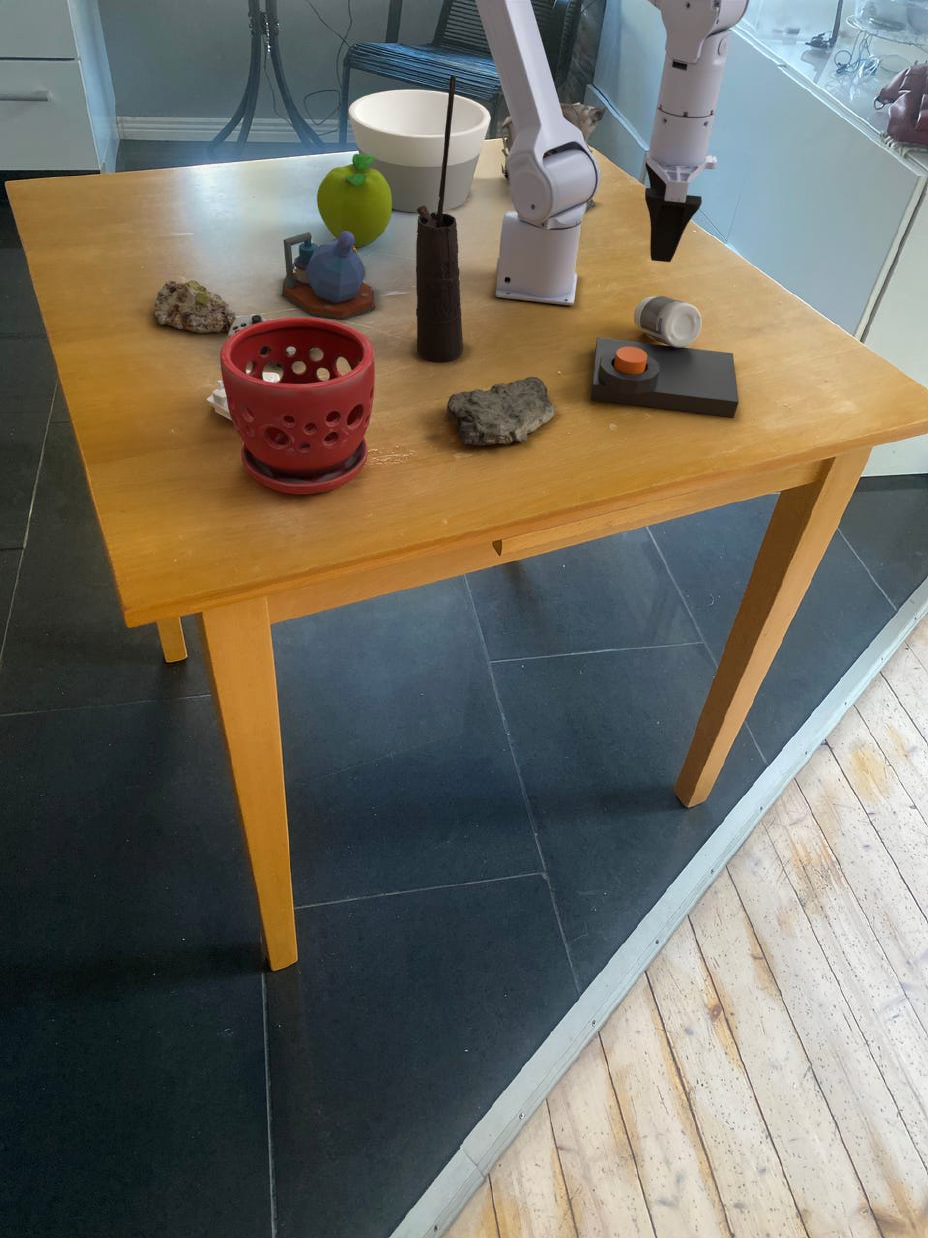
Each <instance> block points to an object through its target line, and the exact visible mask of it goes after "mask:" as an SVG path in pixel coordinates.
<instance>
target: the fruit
mask: <svg viewBox="0 0 928 1238" xmlns="http://www.w3.org/2000/svg"><path fill="white" fill-rule="evenodd" d="M374 158H375V156H373V155H364V154H359V153H354V154H353V155H352V159H351V163H350V164H347V165H344V166H336V167H333V168H331V170H329V171H328V172H327V174H326V175H325V177H324V178H323V179H322V180H321V182H320V184H319V186H318V189H317V193H316V205H317V209H318V213H319V215H320V218H321V220H322V221H323V222H322V223H324V225H325V227H326V229H327V230H328V231H329V233H330V235H332V236H333V237H334V238H335V240H336V241H338V237H339V235H340V234H341V233H342V232H344V231H348V232H350V233H352V234H353V236H354V239H355V244H354V245H353V246H354V247H355V248H361V247H365V246H367V245H368V244H371V243H373V242H374V241H376V240H377V239H378V238H380V237H381V236H382V234H384V232H385V231H386V229H387V228H388V225H389V223H390V221H391V216H392V210H393V209H392V196H391V191H390V188H389V185H388V183H387V181H386V180H385V178H384V177H383V176H382V174H381V173H380V172H378V171H377V170H375V169H370V168H367V167H368V166H369V165H370V164H371V163H372V161H373V160H374Z"/></svg>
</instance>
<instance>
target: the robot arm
mask: <svg viewBox="0 0 928 1238" xmlns="http://www.w3.org/2000/svg"><path fill="white" fill-rule="evenodd" d="M474 1H475V4H476V7H477V11H478V15H479V17H480V21H481V24H482V28H483V31H484V34H485V38H486V40H487V44H488V47H489V50H490V53H491V54H490V55H491V57H492V61H493V65H494V67H495V70H496V74H497V77H498V80H499V83H500V87H501V90H502V93H503V97H504V100H505V103H506V106H507V109H508V113H509V117H510V116H511V120H512V123H513V126H514V129H515V133H516V139H515V142H514V144H513V146H512V148H511V150H510V152H508V153H507V154H508V156H507V159H506V164H507V167H508V170H509V175H510V182H509V197H510V201H511V204H512V206H513V208H514V209H513V210H511V209H510V210H509V209H508V210H505V211H504V214H503V217H502V224H501V232H500V239H499V240H500V241H499V250H498V251H499V253H498V258H497V261H496V269H495V270H496V271H495V272H496V274H497V276H496V287H495V288H496V289H495V296H496V297H497V298H502V299H512V300H519V301H521V300H522V301H529V302H536V303H544V304H555V305H562V306H573V305H574V304H575V298H576V291H577V283H578V273H576V266H577V261H578V260H577V259H578V252H579V246H580V245H579V244H580V239H581V231H582V225H583V217H584V214H585V213H586V211H587V210H586V203H587V202H589V201H590V200H591V199H594V197H595V196H596V195H597V193H598V191H599V188H600V184H601V170H600V166H599V163H598V161H597V159H596V157H595V156H594V154H593V152H592V153H591V152H590V151H589V149H590V148H589V149H588V148H587V146H586V144H585V141H584V138H583V134H582V132H581V130H579V129H578V128H577V127H576V126H574V125H573V124H572V123H570V122H569V121H567V120H566V119H565V118H564V117H563V114H562V110H561V107H560V103H561V102H560V101H559V96H558V93H557V90H556V86H555V82H554V79H553V76H552V72H551V68H550V65H549V62H548V58H547V54H546V51H545V48H544V44H543V41H542V36H541V33H540V29H539V27H538V23H537V19H536V16H535V12H534V8H533V6H532V2H531V0H474ZM647 2H649V3H650V4H651V5H652V6H654V7H655V8H656V9H658V11H659V12H660V16H661V21H662V24H663V26H664V28H665V32H666V39H665V41H666V42H665V46H664V51H665V56H664V62H663V68H662V73H661V79H660V86H659V91H658V97H657V103H656V110H655V115H654V122H653V127H652V134H651V139H650V145H649V149H648V150H647V152H646V157H645V169H646V172H647V175H648V181H649V187H645V191H644V200H645V204H646V206H647V207H646V208H647V210H648V214H649V221H650V239H649V240H650V241H649V242H650V243H649V244H650V245H649V247H650V249H649V250H650V251H649V252H650V253H649V254H650V260H651V261H653V262H663V263H671V262H672V260H673V258H674V256H675V253H676V251H677V249H678V246H679V244H680V241H681V239H682V236H683V234H684V233H685V230H686V228H687V226H688V224H689V222H690V221H691V220H692V218H693V217H694V215H695V214H696V213H697V212H698V211H699V210H700V207H701V205H702V203H703V200H702V199H703V198H702V196H701V195H691V194H688V189H689V186H690V184H691V183H692V182H693V181H694V180H695V179H696V178H698V176H699V175H700V174H701V173H703V172H704V171H705V170H714V169H716V168H717V165H718V164H717V163H718V158H717V156H715V155H709V154H707V153H708V149H709V144H710V140H711V139H710V138H711V134H712V129H713V124H714V121H715V115H716V110H717V105H718V101H719V95H720V91H721V86H722V81H723V77H724V73H725V66H726V62H727V57H728V53H729V47H730V42H731V37H732V32H733V27H735V26H736V25H737V24H739V23H740V22H741V21H742V19H743V17H744V16H745V15H746V12H747V10H748V8H749V4H750V0H647ZM544 153H549V154H550V155H551V156H548V157H545V158H543V155H544Z"/></svg>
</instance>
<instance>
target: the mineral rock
mask: <svg viewBox="0 0 928 1238" xmlns="http://www.w3.org/2000/svg"><path fill="white" fill-rule="evenodd" d="M156 295H157V296H156V301H155V302H154V317H156V318H157V322H158V323H159V324H160V325H167V326H171V327H174V328H176V329H178V330H189V331H191V332H196V333H198V334H205V333H212V332H214V333H221V332H226V333H229V331H230V328H231V326H232V324H233V322H234V321H235V320H236V317H235V316H236V313H235V312H234V311H233V310H231V308H230V305H229V304H228V303H227V302H226V301H225V300H223V298H222V297H221V295H219V294H218V293H215V292H211V291H210V290H207V287H205V286H204V285H201V284H200V283H199V281H197V280H191V279H190V280H188V281H185V282H176V281H175V280H168V281H167V280H166V281H164V284H163V286H162V288H160V290H158V291H157V294H156Z"/></svg>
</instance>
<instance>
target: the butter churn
mask: <svg viewBox="0 0 928 1238" xmlns="http://www.w3.org/2000/svg"><path fill="white" fill-rule="evenodd" d="M456 81H457V77H456V76H455V75H453V74H452V75H451V76H450V80H449V89H448V93H449V99H448V107H447V116H446V117H447V118H446V127H445V142H444V155H443V163H442V173H441V181H440V189H439V197H440V199H439V202H438V211H437V212H431V213H429V212H428V210H427V207H426V206H421V207H419V208H417V212H418V213H417V214H418V216H417V227H416V228H417V229H416V242H415V278H416V279H415V280H416V281H415V282H416V283H415V284H416V285H415V286H416V309H415V315H416V350H417V353H418V355H419V356H420V357H421V358H422V359H424V360H427V361H428V362H429V361H430V362H433V363H446V362H447V363H448V362H451V361H453V360H457V359H459V358H460V357H461V355H462V354H463V352H464V338H463V337H464V336H463V321H462V307H461V289H460V285H461V281H460V275H461V272H460V271H461V270H460V267H459V240H458V230H457V229H458V228H457V227H458V223H457V219H456V217H455V216H453V215H451V214H449V213H444V211H443V204H444V194H445V181H446V169H447V160H448V150H449V141H450V132H451V121H452V112H453V102H454V95H455V90H456Z"/></svg>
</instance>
